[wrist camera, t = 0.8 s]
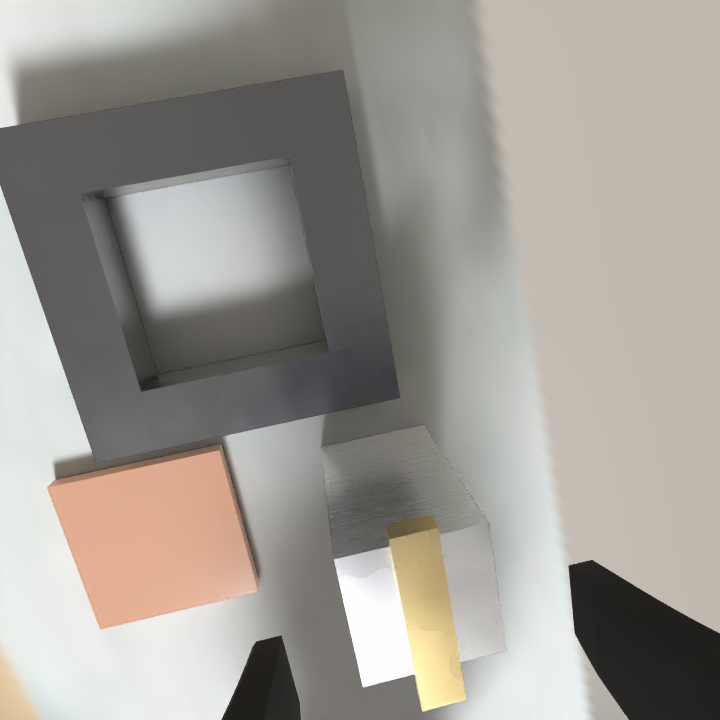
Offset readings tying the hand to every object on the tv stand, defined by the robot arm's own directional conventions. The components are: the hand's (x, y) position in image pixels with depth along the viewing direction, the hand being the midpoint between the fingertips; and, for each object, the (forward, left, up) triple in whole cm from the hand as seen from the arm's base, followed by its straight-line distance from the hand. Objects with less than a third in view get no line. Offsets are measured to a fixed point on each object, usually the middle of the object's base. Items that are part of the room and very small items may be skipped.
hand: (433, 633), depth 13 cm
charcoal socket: (+9, +4, -8) cm, 13 cm away
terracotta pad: (0, +9, -8) cm, 12 cm away
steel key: (0, 0, -8) cm, 8 cm away
